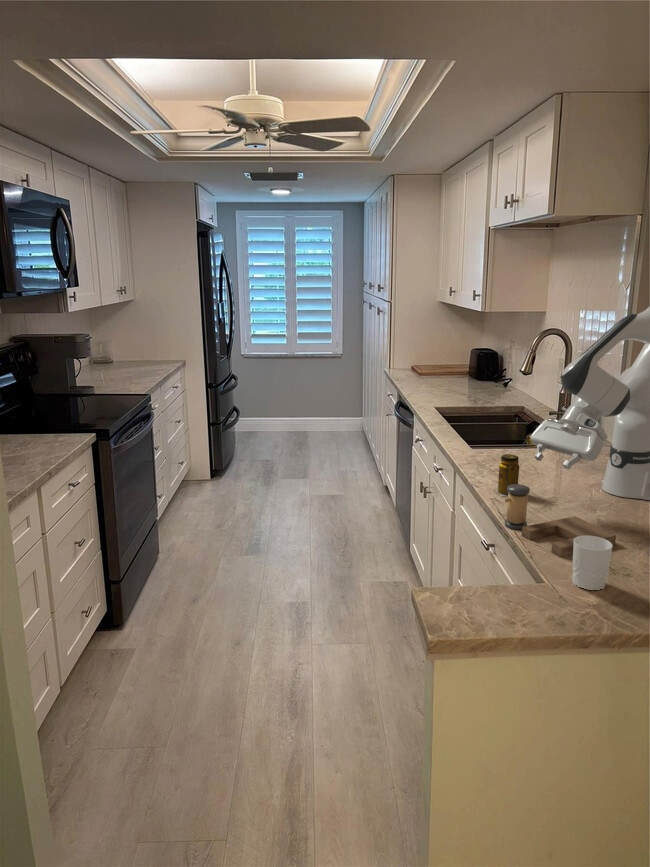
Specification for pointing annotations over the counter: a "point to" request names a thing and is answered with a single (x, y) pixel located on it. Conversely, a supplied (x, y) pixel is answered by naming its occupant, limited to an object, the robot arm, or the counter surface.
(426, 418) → the counter surface
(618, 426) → the robot arm
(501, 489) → the condiment
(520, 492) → the tan grey capped cylinder
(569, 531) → the notched board
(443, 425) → the counter surface
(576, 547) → the white cup
